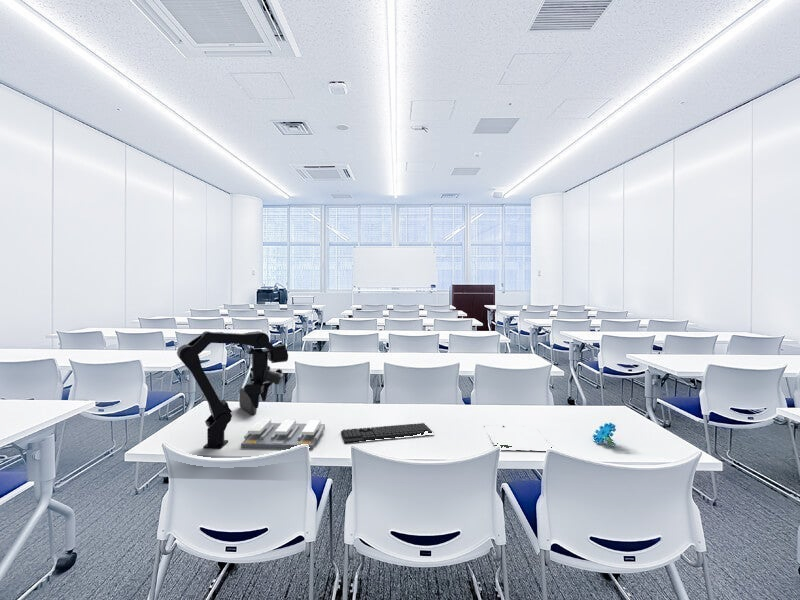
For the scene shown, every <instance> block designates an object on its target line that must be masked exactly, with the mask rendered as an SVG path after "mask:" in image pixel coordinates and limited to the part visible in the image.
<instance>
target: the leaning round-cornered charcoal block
mask: <svg viewBox="0 0 800 600" xmlns="http://www.w3.org/2000/svg"><path fill="white" fill-rule="evenodd" d="M238 393H239V395H238V397H239V402H238V403H239V404H238V405H239V407H240V408H241V409H242V410H244V411H245V412H246V413H248V414H250V415H253V416H254V415H255V414H256V413H257V412H258V411H257V409H258V408H255V407H254V405H253V404H252V402H251V400H250V398H249V396H248V395H247V394H246V392H244V387H241V388H240V389H239V392H238Z"/></svg>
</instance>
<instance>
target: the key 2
mask: <svg viewBox="0 0 800 600" xmlns="http://www.w3.org/2000/svg"><path fill="white" fill-rule="evenodd" d="M321 421H322V420H320V419H319V420H318V419H310V420H308V422H306V424H307V425H306V426H305V428H304V429H303V430H302V435H314V433H315V432H316V430H317V429H318V427H319V425H320V424H322V422H321Z"/></svg>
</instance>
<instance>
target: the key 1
mask: <svg viewBox="0 0 800 600" xmlns="http://www.w3.org/2000/svg"><path fill="white" fill-rule="evenodd" d="M270 423H272V419H267V418H266V419H265V418H260V419H259V420H258V421H257V422H256V423H255V424H253V426H251V427H250V428H249V429H248V430H247V433H248V434H260V433H261V432H262V431H263V430H264V429H265V428H266V427H267V426H268V425H269V424H270Z"/></svg>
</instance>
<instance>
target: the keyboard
mask: <svg viewBox="0 0 800 600" xmlns="http://www.w3.org/2000/svg"><path fill="white" fill-rule="evenodd" d="M425 424H426V423H424V422H420V423H419V422H418V423H411V424H410V423H407V424H406V423H405V424H396V425H384V426H381V425H380V426H372V427H359V428H348V429H342V430H340V435H341V439H342V440H343V443H344V444H346V445H347V444H354V443H353V442H358V443H360V442H359V441H366V440H375V439H384V438H395V437H404V436H413V435H417V434H420V433H421V435H423V434H424V432H425V431H428V433H432V432H433V430H431V428H429V426H428V425H427V424H426V425H425Z"/></svg>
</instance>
